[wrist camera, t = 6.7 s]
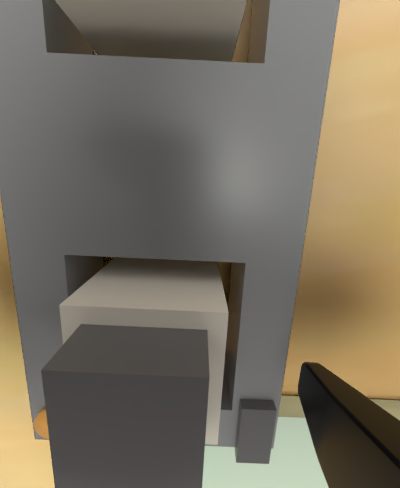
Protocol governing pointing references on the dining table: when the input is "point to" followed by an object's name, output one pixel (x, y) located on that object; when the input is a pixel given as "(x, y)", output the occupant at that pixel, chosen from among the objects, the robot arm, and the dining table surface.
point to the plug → (138, 376)
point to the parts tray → (276, 455)
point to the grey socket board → (165, 182)
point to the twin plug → (159, 27)
